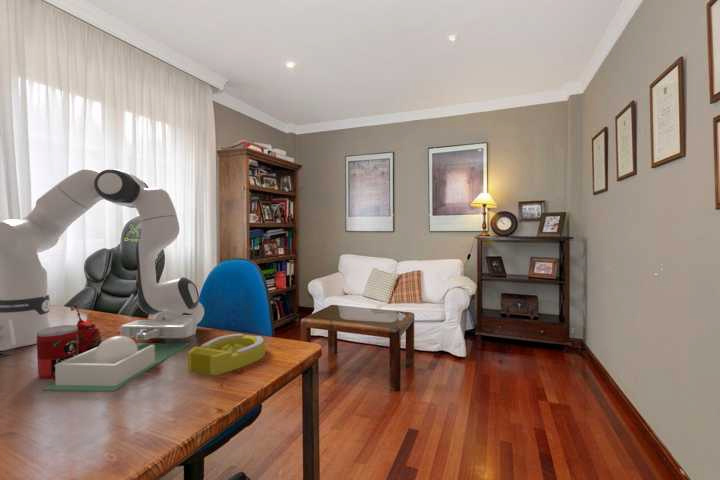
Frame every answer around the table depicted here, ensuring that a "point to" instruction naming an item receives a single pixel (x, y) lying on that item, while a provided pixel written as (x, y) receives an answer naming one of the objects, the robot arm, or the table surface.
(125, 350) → the ball
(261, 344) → the olive green tray
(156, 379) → the table surface
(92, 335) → the red clay folk toy
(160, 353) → the green mat
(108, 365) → the white chevron barrier
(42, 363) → the canned food
